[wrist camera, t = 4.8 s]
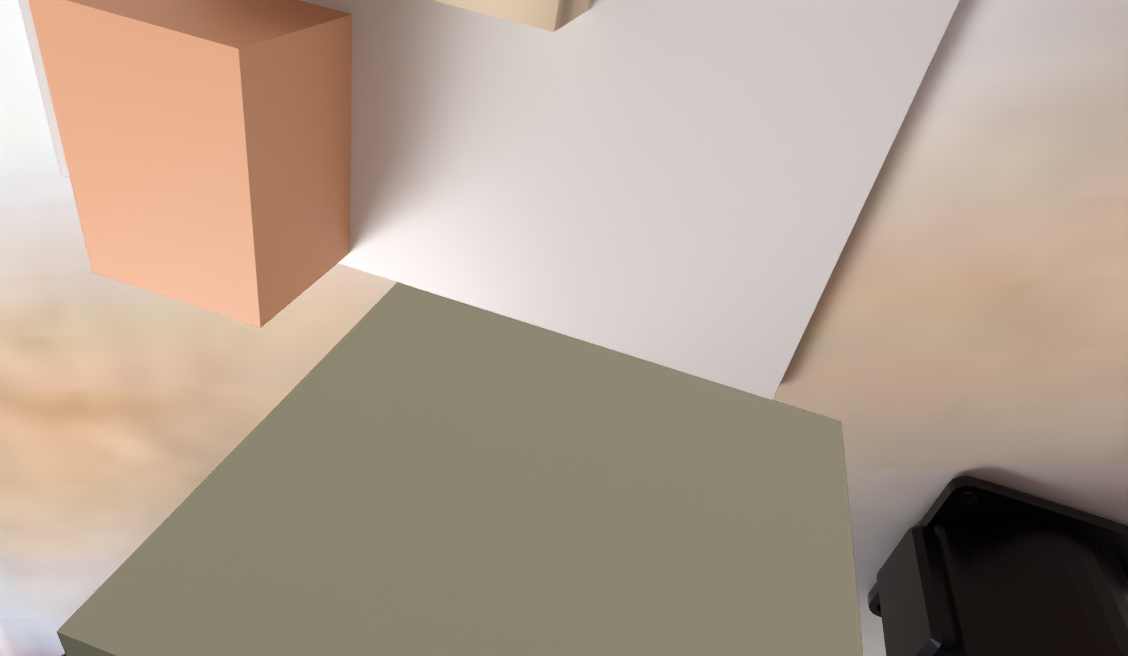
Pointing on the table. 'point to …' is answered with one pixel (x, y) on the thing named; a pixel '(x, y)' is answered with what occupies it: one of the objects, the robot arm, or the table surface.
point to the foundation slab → (528, 10)
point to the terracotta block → (205, 143)
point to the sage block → (498, 511)
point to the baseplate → (625, 162)
